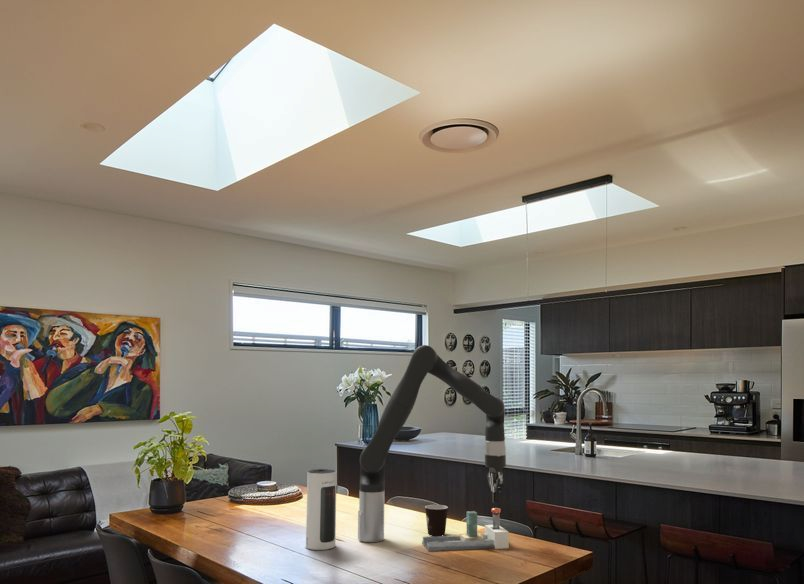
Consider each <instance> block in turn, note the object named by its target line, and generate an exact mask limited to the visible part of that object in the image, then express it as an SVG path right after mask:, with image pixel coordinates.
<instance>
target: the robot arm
mask: <svg viewBox="0 0 804 584" xmlns="http://www.w3.org/2000/svg"><path fill="white" fill-rule="evenodd" d="M427 374H430V375H432V376H434V377H436V378H437V379H439V380H441V381H442V382H444V384H446V385H448V387H450V388H451V389H452V390H453V391H455V392H456V393H457V394H458V395H460V396H461V397H463V398H464V399H465V400H466V401H469V402H470V403H472V404H473V405H475V406H476V407H477V408H478V409H479V410H480V411H481V412H483V414H485V416H486V417H485V420H486V422H485V423H486V425H485V430H484V434H485V435H484V436H485V437H484V438H485V440H484V441H485V442H484V466H485V468H489V471H488V473H486V477H487V483H488V486H489V489H490V491H491V493H492V499H491V501H492V503H494V504H500V493H501V492H503V488H504V486H505V482H506V479H505V477H504V478H503V471H502V468H505V467H507V458H506V457H507V452H506V451H507V450H506V448H507V447H506V441H505V439H506V437H505V436H506V435H505V412H506V409H505V403H504V402H503V400H502V399H501V398H499V397H496V396H494V395H493V394H491V393H489V392H488V391H486V390H485V389H484V388H483V387H482V386H481V385H479V384H478V383H477V382H476V381H474V380H472V379H471V378H470V377H468V376H466V375H465V374H463V373H462V372H460V371H458V370H456V369H455V368H454V367H452V366H450V365H449V364H448V363H446V361H444V360H443V359H442V358H441V357H440V356H439V355H438V354H437V352H436V351H435V349H433V347H431V346H430V345H428V344H427V345H426V344H423V345H419V346H417V348H415V349H414V351H413V353H412V355H411V358H410V360H409V363H408V365H407V367H406V370H405V372H404V374H403V376H402V377H401V379H400V381H399V383H398V384H397V386H396V388H395V390H394V391H393V393H392V394H391V396H390V398H389V400H388V402H387V403H386V405H385V406H384V407H385V408H384V410H383V412H382V414H381V417H380V420H379V421H378V425H377V428H376V430H375V432H374V435H373V436H372V438H371V439H370V440H369V442H368V444H367V445H366V447H365V448H364V449H362V451H361V452H360V456H359V464H360V465H359V468H360V469H359V470H360V473H359V495H358V497H359V498H358V499H359V500H358V501H359V502H358V503H359V507H358V508H359V510H358V512H357V516H358V517H357V539H358V540H359V542H366V543H376V542H377V543H378V542H382V541H384V539H385V487H386V486H385V485H386V483H385V482H386V479H385V477H386V474H385V473H386V459H387V456H388V453H389V451H390V449H391V447H392V445H393V443H394V441H395V439H396V437H397V436H398V434H399V433H400V431H401V430H402V428H403V427H404V425H405V423H406V422H407V420H408V418H409V416H410V415H411V413H412V411H413V408H414V406H415V404H416V401H417V398H418V395H419V391H420V389H421V385H422V383H423V381H424V380H425V378H426V376H427Z"/></svg>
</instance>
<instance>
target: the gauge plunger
mask: <svg viewBox="0 0 804 584" xmlns="http://www.w3.org/2000/svg"><path fill="white" fill-rule="evenodd" d="M491 513H492V525H493V530H496V529H500V526H501V525H500V523H501V522H500V521H501V520H500V518H501V517H500V513H501V508H499V507H492V508H491Z"/></svg>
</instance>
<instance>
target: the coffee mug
mask: <svg viewBox="0 0 804 584" xmlns="http://www.w3.org/2000/svg"><path fill="white" fill-rule="evenodd" d="M448 508H449V507H448V506H447V505H443V504H428V505H425V506H424V510H425V518H426V527H427V528H426V529H427V535H428V534H429V535H428V536H430V535H432V536H442V535H444V536H446V528H447V518H448V517H447V516H448Z"/></svg>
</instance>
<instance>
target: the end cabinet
mask: <svg viewBox="0 0 804 584" xmlns="http://www.w3.org/2000/svg"><path fill="white" fill-rule="evenodd" d="M484 534H486V535H487V539H493V540H494V545H495V548H494V550H499V549H509V548H510V547H509V546H510V545H509V544H510V543H509V542H510V541H509V540H510V539H509V538H510V536H509V531H508V530H507V529H505V527H502V526H501V525H500V529H496V530H493V524H484Z"/></svg>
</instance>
